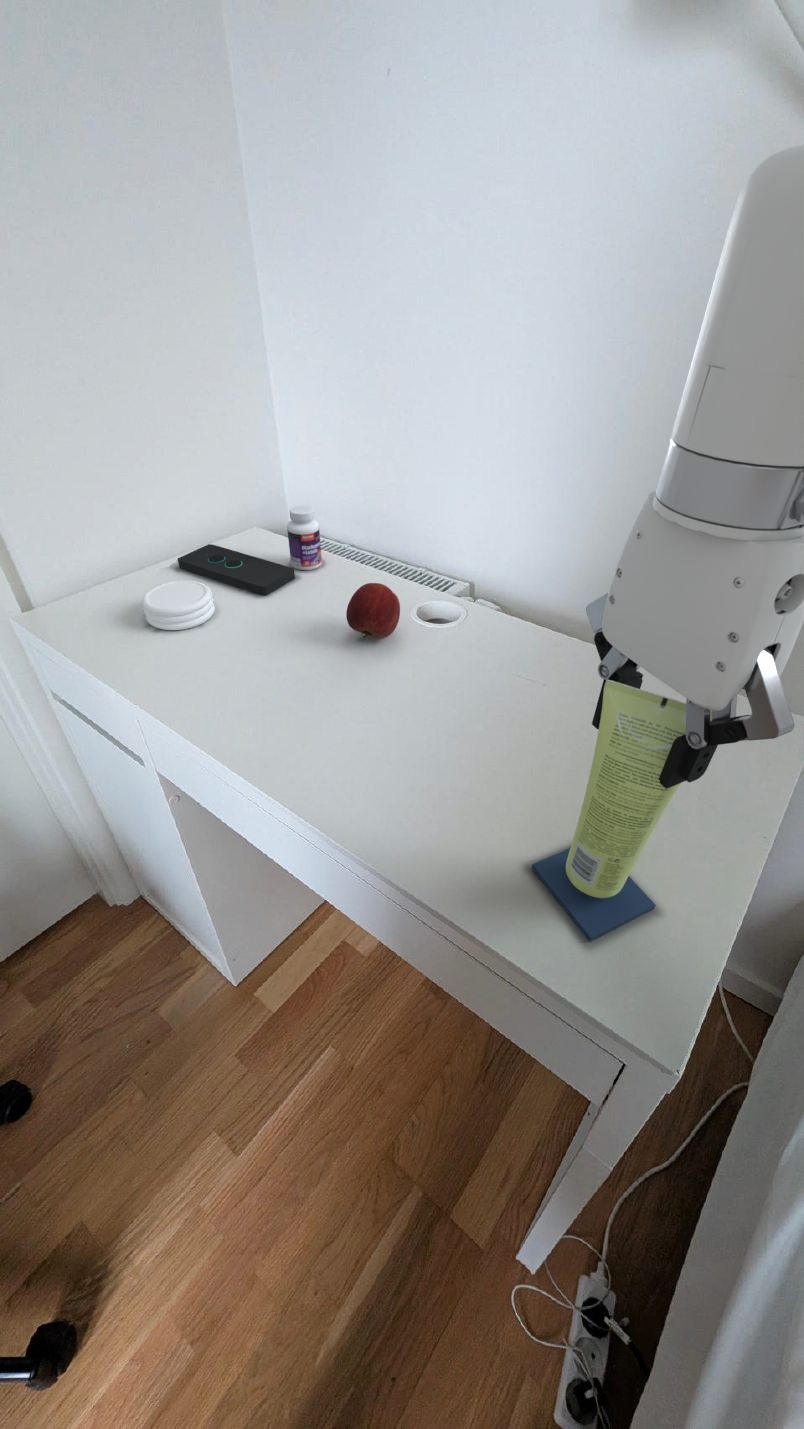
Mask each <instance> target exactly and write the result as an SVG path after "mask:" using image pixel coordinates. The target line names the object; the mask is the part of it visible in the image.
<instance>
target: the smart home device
mask: <svg viewBox="0 0 804 1429" xmlns="http://www.w3.org/2000/svg"><path fill="white" fill-rule="evenodd" d="M177 564H178V568H179V569H181V570H183V571H186V572H189V573H192V574H196V575H198V576H201V577H205V578H208V579H211V580H214V581H216V582H220V583H223V584H227V585H229V586H233V587H235V588H238V589H241V590H245V591H249V592H251V593H254V594H257V595H259V596H260V595H261V596H267V595H268V596H269V594H271V593H273V592H274V591H276V590H279V589H280V588H281V587H283V586H284V585H286V584H288V583H290V582H292V581H293V580H295V579H296V574H295V568H294V567H291V566H287V565H285V564H280V563H278V562H274V561H270V560H268V559H263V558H261V557H257V556H253V555H250V554H246V553H242V552H240V551H236V550H233V549H230V548H226V547H223V546H220V545H216V544H211V543H209V544H206V545H204V546H201V547H200V548H197V549H195V550H193V551H191V552H188V553H187V554H184V555H182V556H180V557H178V558H177Z"/></svg>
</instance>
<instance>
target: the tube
mask: <svg viewBox="0 0 804 1429" xmlns="http://www.w3.org/2000/svg"><path fill="white" fill-rule="evenodd" d="M686 704H687V701H686V702H685V701H682V700H678V699H675V698H671V697H668V696H664V695H661V694H659V693H654V692H652V691H648V690H644V689H641V688H640V689H638V688H635V687H631V686H628V685H625V684H622V683H618V682H615V681H612V680H606V683H605V686H604V693H603V705H602V712H601V719H600V725H599V729H598V732H597V737H596V742H595V747H594V753H593V757H592V762H591V766H590V772H589V775H588V780H587V784H586V788H585V792H584V796H583V801H582V804H581V809H580V813H579V816H578V820H577V824H576V828H575V831H574V835H573V838H572V841H571V845H570V847H569V848H570V851H569V855H568V858H567V862H566V873H567V876H568V878H569V879H570V881H571V883H572V884H573V885H574V886H575V887H576V888H577V889H579V890H580V891H582V892H583V893H585V894H587V895H590V896H593V897H597V898H608V897H612V896H614V895H616V894H618V893H619V892H620V891H621V889H622V887H623V886H624V884H625V882H626V880H627V878H628V876H629V877H630V874H631V872H632V870H633V868H634V867H635V865H636V863H637V861H638V859H639V858H640V857H639V856H641V853H642V851H643V850H644V848H645V846H646V844H647V842H648V841H649V838H650V837H651V835H652V833H653V831H654V830H655V828H656V826H657V825H658V823H659V821H660V819H661V818H662V816H663V814H664V813H665V811H666V809H667V807H668V805H669V804H670V802H671V800H672V799H673V797H674V795H675V794H676V792H677V790H678V789H679V787H680V786H681V784H682V783H679V784H677V785H675V786H672V787H670V788H668V789H666V788H665V787H664V786H662V785H661V784H660V783H659V782H660V780H659V777H660V774H661V772H662V769H663V767H664V764H665V762H666V759H667V757H668V754H669V752H670V749H671V747H672V744H673V742H674V740H675V739H676V738H677V737H680V736H682V735H685V734H686ZM710 721H712V710H710Z"/></svg>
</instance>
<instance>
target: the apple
mask: <svg viewBox="0 0 804 1429" xmlns="http://www.w3.org/2000/svg"><path fill="white" fill-rule="evenodd" d="M345 612H346V613H345V615H346V616H345V617H346V618H345V619H346V621H347V624H348V626H349V628H350V629H351V630H353V631H355V632H358V633H360V634H364V635H363V636H362V639H366V638H368V637H372V638H375V639H384V638H387V637H389V636H390V635H392V634H393V632H394V631H395V630H396V628H397V626H398V624H399V621H400V616H401V604H400V599H399V597H398V595H397V594H396V593H394V591H393V590H392V589H390V588H389V587H388V586H387V585H385V584H383V583H379V582H367V583H365V584H362V585H361V586H360V587H358V588H357V590H356V591H355V592H354V593H353V594H352V596H351V597H350V600H349V602H348V604H347V606H346V611H345Z"/></svg>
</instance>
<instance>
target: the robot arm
mask: <svg viewBox="0 0 804 1429" xmlns="http://www.w3.org/2000/svg"><path fill="white" fill-rule="evenodd" d="M698 334H699V335H698V338H697V341H696V345H695V349H694V352H693V355H692V356H693V357H692V360H691V363H690V367H689V370H688V374H687V378H686V381H685V384H684V388H683V392H682V395H681V398H680V402H679V404H678V409H677V413H676V417H675V420H674V424H673V426H672V431H671V434H670V436H671V437H670V439H669V442H668V446H667V449H666V453H665V456H664V461H663V464H662V467H661V471H660V475H659V478H658V481H657V486H656V489H655V490H653V491H651V492H649V493H648V494H647V496H646V498H645V500H644V502H643V504H642V505H641V507H640V510H639V511H638V514H637V516H636V518H635V520H634V522H633V524H632V526H631V528H630V531H629V533H628V536H627V538H626V541H625V544H624V545H623V548H622V551H621V554H620V556H619V558H618V561H617V565H616V567H615V571H614V574H613V577H612V580H611V583H610V586H609V589H608V591H607V592H606V593H605V594H604V595H602V596H600V597H598V598H597V599H595V600H593V601H591V602H590V603H588V604H587V605H586V607H585V612H586V616H587V618H588V621H589V625H590V627H591V629H592V632H593V633H595V635H594V637H593V641H594V645H595V648H596V651H597V653H598V656H599V660H600V662H599V664H598V666H597V673H598V676H599V677H600V679H601V680H603V681H602V684H601V688H600V692H599V695H598V699H597V703H596V706H595V711H594V714H593V718H592V721H591V725H592V726H593V727H594V728H596V730H599V725H600V719H601V712H602V705H603V693H604V686H605V683H606V680H612V681H615V682H618V683H622V684H625V685H628V686H631V687H635V688H638V689H641V688H642V684H643V682H644V680H643V678H644V674H643V673H642V672H640V671H639V669H640V668H642V669H643V670H644V671H646V672H648V673H649V674H650V675H651V676H654V677H655V678H656V679H658V680H659V681H661V682H662V683H664V684H665V685H667V686H668V687H669V688H671V689H672V690H674V691H675V692H677V693H678V694H679V695H681V696H683V697H684V698H685V699H686V703H687V704H686V734H685V735H682V736H680V737H677V738H676V739H675V740H674V742H673V744H672V747H671V749H670V752H669V754H668V757H667V759H666V762H665V764H664V767H663V769H662V772H661V774H660V777H659V780H660V782H659V783H660V784H661V785H662V786H664V787H665V788H666V789H668V788H670V787H672V786H675V785H677V784H679V783H681V784H682V783H684V782H687V783H692V782H695V781H697V780H699V779H700V778H702V776H703V775H704V774H705V773H706V771H707V770H708V767H709V765H710V763H711V761H712V759H713V757H714V755H715V752H716V751H717V748H718V746H719V745H728V744H729V745H730V744H736V743H738V742H744V741H749V742H750V741H762V740H774V739H777V738H779V737H781V736H784V735H786V734H788V733H789V734H790V733H791V732H792V731H794V729H795V721H794V718H793V715H792V711H791V709H790V706H789V702H788V699H787V696H786V693H785V690H784V686H783V684H782V680H781V676H782V674H783V672H784V670H785V668H786V665H787V664H788V661H789V659H790V657H791V654H792V652H793V650H794V647H795V645H796V642H797V640H798V637H799V634H800V631H801V629H802V627H803V624H804V144H799V145H794V146H790V147H787V148H784V149H782V150H780V151H778V152H776V153H773V154H771V155H769V156H768V157H767V158H766V159H764V160H763V161H762V162H761V163H760V164H758V165H757V167H756V168H755V169H754V170H753V172H751V174H750V175H749V177H748V178H747V179H746V182H745V183H744V185H743V187H742V188H741V191H740V193H739V195H738V197H737V200H736V202H735V206H734V209H733V212H732V215H731V218H730V221H729V224H728V228H727V232H726V236H725V238H724V243H723V247H722V250H721V254H720V258H719V261H718V264H717V268H716V272H715V276H714V279H713V284H712V287H711V291H710V294H709V297H708V302H707V305H706V308H705V312H704V316H703V319H702V323H701V327H700V330H699V333H698ZM741 690H744V691H745V694H746V697H747V700H748V704H749V706H750V710H751V714H745V715H738V716H737V704H738V694H739V693H740V692H741ZM710 710H712V721H710Z"/></svg>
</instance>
